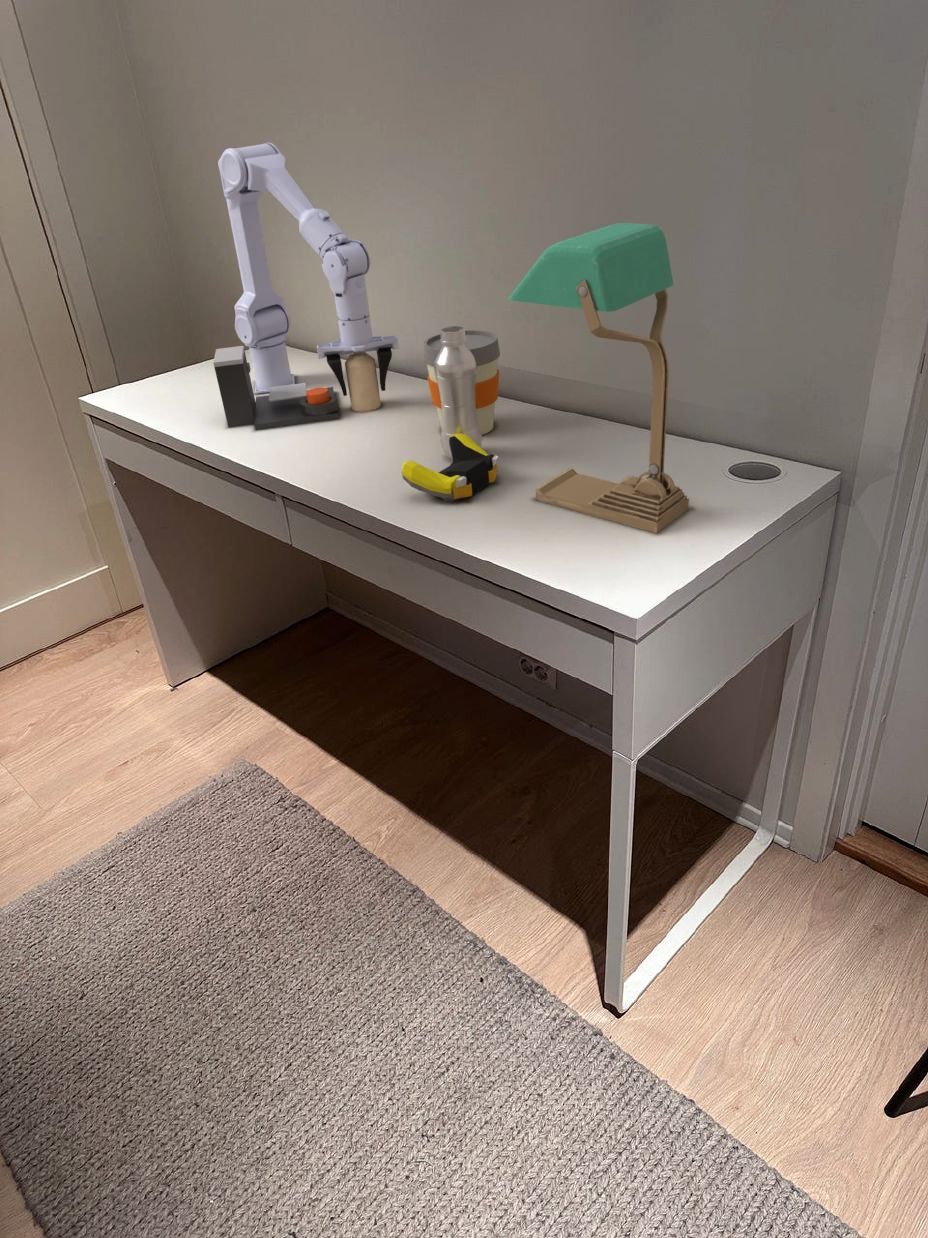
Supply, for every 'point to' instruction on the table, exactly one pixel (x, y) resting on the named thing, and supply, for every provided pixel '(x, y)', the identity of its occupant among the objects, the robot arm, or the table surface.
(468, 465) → the gaming controller
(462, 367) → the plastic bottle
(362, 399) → the candle
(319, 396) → the button
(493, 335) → the reusable coffee cup
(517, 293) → the banker's lamp
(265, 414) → the grey base plate
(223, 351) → the tower
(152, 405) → the table surface
